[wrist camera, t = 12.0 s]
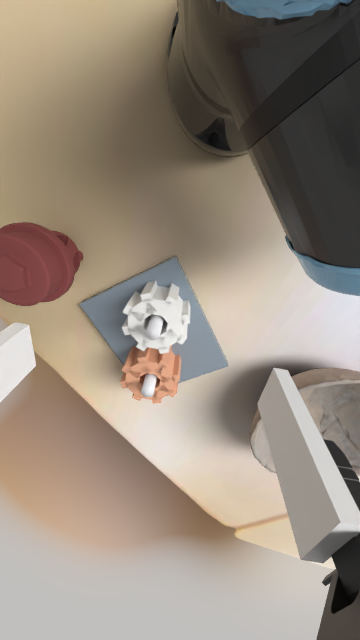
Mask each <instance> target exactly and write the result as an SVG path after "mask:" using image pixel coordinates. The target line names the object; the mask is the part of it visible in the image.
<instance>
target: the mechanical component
mask: <svg viewBox="0 0 360 640" xmlns="http://www.w3.org/2000/svg"><path fill="white" fill-rule="evenodd" d="M81 260H83V254H82V253H81V252H80V251H78V249H77V247H76V245H75V244H74V243H73V241H72V240H71V239H70V238H69V237H67V236H66V235H64V234H62V233H60V232H57V231H50V230H48V229H46V228H44V227H42V226H40V225H37V224H33V223H26V222H23V223H14V224H9V225H6V226H4V227H2V228H1V229H0V298H2V299H4V300H5V301H7V302H10V303H12V304H16V305H21V306H30V305H34V304H37V303H39V302H49V301H53V300H55V299H57V298H59V297H60V296H62V295H63V294H65V293H66V292H67V291H68V290H69V288H70V287H71V285H72V283H73V280H74V274H75V273H76V272H77V270H78V268H79V265H80V261H81Z"/></svg>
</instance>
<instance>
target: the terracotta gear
mask: <svg viewBox="0 0 360 640" xmlns="http://www.w3.org/2000/svg"><path fill="white" fill-rule="evenodd" d="M171 348H172V345H171V346H170V349H169V352H168V353H163V354H160V352H159V349H155V348H149V347H147V348H146V349H145V351H142V350H141V349H139V348H136V347H135V346H133V347H132V348H131V350H130V352H129V354H128V356H127V358H126V361H125V363H124V365H123V368H122V370H121V371H123V372H124V374H123V376H122V379H121V381H120V382H121V385H122V387H123V388H129V389H130V390H131V391H132V392H133V396H132V398H134V399H136V400H138V401H139V400H140V399H141V398H145V399H151V400H152V402H153V403H161V399H162V397H165V396H167V395H169V396H171V397H173V396H174V395H175V394H176V393H177V386H178V381H180V372H181V357H180V355H174V353H173V352H172V351H171ZM146 373H150V374H155V375H156V376H157V380H156V385H155V390H154V394H153V396H152V397H144V396H143V395H142V394H141V390H142V386H143V383H144V379H145V375H146Z"/></svg>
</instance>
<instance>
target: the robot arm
mask: <svg viewBox="0 0 360 640" xmlns="http://www.w3.org/2000/svg"><path fill="white" fill-rule="evenodd" d="M177 6H178V11H177V13H176V16H175V19H174V22H173V26H172V29H171V34H170V39H169V45H168V54H167V77H168V86H169V92H170V96H171V101H172V105H173V108H174V111H175V114H176V116H177V119H178V121H179V123H180V125H181V127H182V128H183V130H184V131H185V133H186V134H187V135H188V137H189V138H190V139H191V140H192V141H193V142H194V143H195V144H196V145H198V146H199V147H200V148H202V149H204V150H205V151H207V152H210V153H212V154H215V155H219V156H238V155H243V154H246V153H248V154H249V156H250V158H251V160H252V162H253V164H254V166H255V169H256V171H257V173H258V175H259V177H260V179H261V181H262V184H263V186H264V188H265V190H266V192H267V194H268V197H269V199H270V201H271V203H272V205H273V207H274V209H275V212H276V214H277V216H278V218H279V220H280V222H281V225H282V227H283V229H284V231H285V233H286V237H285V238H286V242H287V244H288V246H289V248H290V249H291V251H292V252H294V254H295V255H296V256H297V258H298V259H299V261H300V263H301V265H302V267H303V269H304V271H305V272H306V274H307V275H308V276H309V277H310V278H311V279H313V280H314V281H315V282H316V283H317V284H319V285H321V286H322V287H324V288H327V289H329V290H332V291H335V292H339V293H343V294H349V295H356V296H360V0H177ZM35 366H36V362H35V357H34V350H33V345H32V339H31V334H30V328H29V325H27V324H21V323H16V322H14V323H13V324H11V325H10V326H8V327H7V328H5V329H4V330H3V331H1V332H0V402H1V401H2V400H3V399H4V398H5V397H6V396H7V395H8V394H9V393H10V392H11V391H12V390H13V389H14V388H15V386H17V385H18V384H19V382H20V381H21V380H22V379H23V378H24V377H25V376H26V375H27V374H28V373H29V372H30V371H31V370H32V369H33V368H34V367H35ZM257 405H258V408H259V412H260V415H261V419H262V423H263V426H264V430H265V433H266V437H267V440H268V444H269V448H270V451H271V455H272V458H273V462H274V466H275V469H276V473H277V476H278V480H279V483H280V487H281V491H282V494H283V498H284V501H285V505H286V509H287V512H288V516H289V519H290V523H291V527H292V530H293V534H294V537H295V541H296V544H297V548H298V552H299V555H300V559H301V560H307V561H313V562H319V563H324V562H325V561H326V560H328V559H329V558H330V557H331V556H332V558H333V561H334V564H335V567H336V569H335V570H334V571H333V572H331V573H330V574H329V575H327V576H326V577H325V579H324V580H323V582H322V583H323V584H324V585H325V586H326V585H328V584H329V583H330V587H329V592H328V595H327V599H326V604H325V607H324V611H323V615H322V620H321V624H320V628H319V632H318V636H317V640H360V482H359V478H358V477H357V475H356V473H355V471H353V470H352V466H351V464H350V463H349V461H348V459H347V457H346V455H345V454H344V453H343V452H342V450H341V449H340V448H339V447H338V446H337V445H336V444H335V443H334V442H333V441H331V440H325V439H323V438H322V436H321V435H320V433H319V431H318V429H317V427H316V425H315V423H314V421H313V419H312V417H311V415H310V413H309V411H308V409H307V407H306V405H305V403H304V401H303V399H302V397H301V395H300V393H299V391H298V389H297V387H296V385H295V383H294V381H293V380H292V378H291V376H290V374H289V372H288V370H284V369H278V368H273V370H272V372H271V375H270V377H269V379H268V381H267V383H266V386H265V388H264V390H263V392H262V394H261V397H260V399H259V401H258V403H257Z"/></svg>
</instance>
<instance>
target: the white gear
mask: <svg viewBox="0 0 360 640" xmlns="http://www.w3.org/2000/svg"><path fill="white" fill-rule="evenodd" d="M178 294H179V287H178V286H176V285H174V284H173V283H172V284H171V285H170V287H169V288H168V287H162V286H158V285H157V282H156V280H155V281H151V282H147V284H146V286H145V287H144V289H143V291H142V293H141V294H140V293H138V292H137V291H135V293H134V294H133V296H132V297H131V299H130V300H129V302H128V303H127V305H126V307H125V308H124V310H123V313H125V314H127V315H128V317H127V319H126V321H125V323H124V324H123V326H122V329H123V332H124V334H125V335H130V334H131V335H132V336H133V337H134V338H135V340H136V341H137V342H138V343H137V346H136V347H137V348H139V349H141V350H142V351H145V349H146V348H147V347H149V348H155V349H159V352H160V354H163V353H168V352H169V349H170V346H171V345H172V344H174V343H176V342H178V343H180V344H183V343H184V342H185V340H186V339H187V330H188V324H189V323H190V310H191V307H190V303H189V300H185V301H183V300H182V299H181V297H180V296H179V295H178ZM152 314H154V315H160V316H162V317H163V318H164V322H163V326H162V330H161V334H160V337H159V338H158V339H157V340H150V339H148V338H147V337H146V334H145V332H146V329H147V327H148V324H149V321H150V319H151V316H152Z"/></svg>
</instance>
